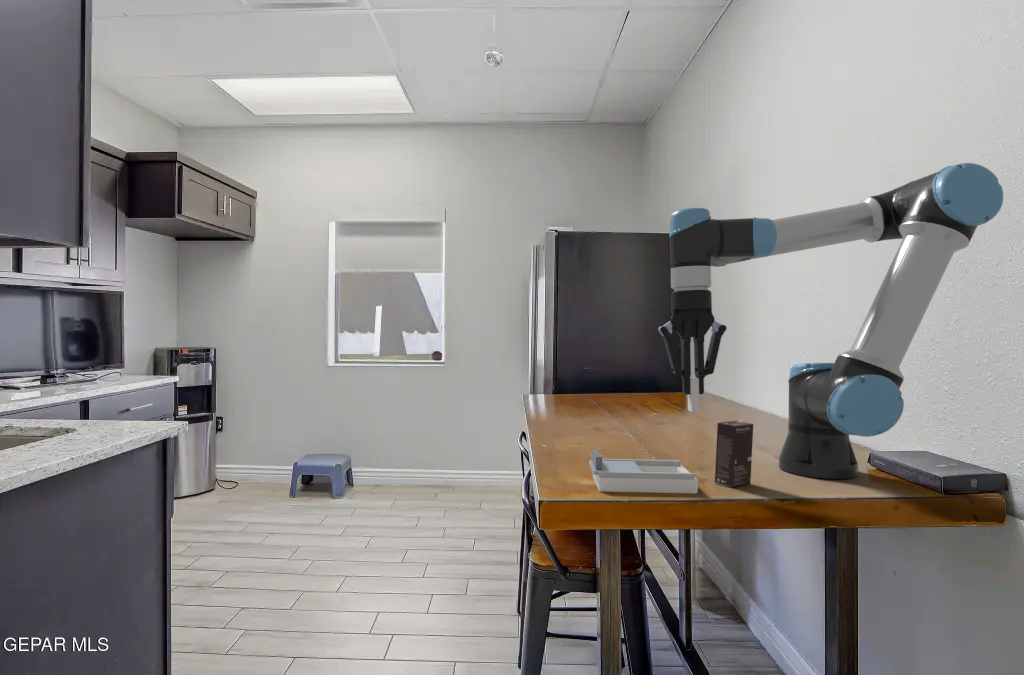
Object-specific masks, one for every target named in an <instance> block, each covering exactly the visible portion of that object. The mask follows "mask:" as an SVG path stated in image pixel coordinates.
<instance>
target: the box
mask: <svg viewBox="0 0 1024 675" xmlns="http://www.w3.org/2000/svg"><path fill="white" fill-rule="evenodd" d="M716 428H717V429H716V452H715V453H716V454H715V467H714V468H715V470H714V483H715V484H716V485H718V486H722V487H728V488H735V487H736V488H737V487H740V486H746V485H751V482H752V481H751V480H752V462H753V461H752V460H753V459H752V458H753V457H752V456H753V438H754V424H753V423H749V422H745V421H739V420H732V421H728V420H727V421H726V420H725V421H721V422H718V423H717V427H716Z"/></svg>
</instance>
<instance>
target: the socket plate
mask: <svg viewBox="0 0 1024 675" xmlns="http://www.w3.org/2000/svg"><path fill="white" fill-rule="evenodd" d="M602 460H603V461H634V462H635V463H636V465H637V466H638V467H639V469H640V470H641V471H642V472H620V471H599V475H594V474H593V473H592V477H593V480H594V482H595V485H596V487H597V489H598V492H605V493H606V492H612V493H613V492H614V493H617V492H618V493H655V494H656V493H658V494H659V493H660V494H661V493H663V494H698V492H699V491H698V490H699V489H698V488H699V480H698V479H697V477H695V475H696V474H695V473H694V472H690V471H689V470H688V469H686V467H685V466H684V465H682V464H681V460H680V459H676V460H675V459H638V458H637V459H635V458H633V459H632V458H602Z"/></svg>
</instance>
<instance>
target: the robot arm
mask: <svg viewBox="0 0 1024 675" xmlns="http://www.w3.org/2000/svg"><path fill="white" fill-rule="evenodd" d="M1003 203H1004V191H1003V186H1002V185H1001V184H1000V183H999V178H998V177H997V176H996V175H995V173H994V172H992V171H991V170H990V169H989V168H987V167H985V166H984V165H980V164H978V163H973V162H962V163H959V164H955V165H949V166H945V167H944V168H941V169H939V171H937V172H935V173H934V172H933V173H930V174H929V175H926V176H923V177H921V178H918V179H915V180H913V181H910V182H907V183H905V184H903V185H901V186H898V187H896V188H894V189H892V190H889V191H887V192H884V193H880V194H876V195H873V196H872V195H871V196H866V197H864V198H862V199H861V200H860V201H859V203H856V204H851V205H845V206H840V207H834V208H829V209H823V210H818V211H812V212H809V213H808V212H807V213H803V214H802V213H801V214H798V215H792V216H787V217H783V218H777V219H770V218H766V217H763V218H759V217H751V218H749V217H748V218H731V219H730V218H728V219H715V218H712V216H711V213H710V210H708V209H707V208H704V207H703V208H701V207H688V208H682V209H678V210H676V211H674V212H673V213H672V214H671V215H670V218H669V219H670V220H669V235H668V237H669V249H670V250H669V252H670V253H669V254H670V288H671V289H672V290H674V291H672V292H671V294H670V301H671V302H670V304H671V308H670V309H671V313H670V316H669V318H668V322H666V323H665V324H663V325H662V326H659V327H658V328H657V331H658V332H659V334H660V336H661V337H662V339H663V343H664V346H665V350H666V353H667V358H668V361H669V364H670V369H671V372H672V374H674V375H676V376H680V377H681V382H682V384H681V385H682V387H681V389H682V393H683V395H686V396H687V411H689V412H690V413H700V395H704V394H705V378H706V377H707V376H709V375H713V374H714V372H715V367H716V364H717V358H718V354H719V350H720V345H721V340H722V337H723V336H724V334H725V332H726V331H727V326H726V325H725V324H722V323H719V321H716V319H715V316H714V314H713V311H712V310H713V304H712V302H713V301H712V291H711V290H709V288H711V287H712V267H717V268H719V267H724V266H726V265H729V264H735V263H740V262H746V261H750V260H751V261H752V260H756V259H761V258H766V257H767V258H768V257H773V256H778V255H783V254H789V253H793V252H794V253H795V252H800V251H806V250H810V249H817V248H821V247H827V246H833V245H838V244H842V243H843V244H845V243H849V242H853V241H854V242H855V241H860V240H864V241H865V242H868V243H875V242H882V241H887V240H888V241H891V240H902V241H901V243H900V245H899V247H898V249H897V250H896V253H895V255H894V257H893V260H892V261H891V264H890V265H889V267H888V270H887V272H886V275H884V278H883V280H882V283H881V285H880V286H879V289H878V290H877V293H876V295H875V296H874V299H873V302H872V304H871V306H870V307H869V310H868V312H867V314H866V317H865V319H864V320H863V323H862V324H861V327H860V329H859V331H858V334H857V336H856V337H855V340H854V342H853V344H852V346H851V348H850V349H849V350H848V351H844V352H842V353H839V354H838V355H837V357H836V360H834V362H809V363H806V362H805V363H798V364H797V363H796V364H794V365H793V366H791V368H790V370H789V377H788V429H787V430H788V432H787V435H786V437H785V440H784V443H783V444H782V448H781V451H780V453H779V457H778V467H779V468H780V469H781V470H782V471H785V472H788V473H791V474H793V475H794V474H795V475H799V476H804V477H811V478H818V479H827V480H828V479H829V480H831V479H832V480H844V479H847V480H848V479H854V478H857V477H858V475H859V464H858V460H857V458H856V454H855V451H854V449H853V446H852V443H851V439H850V436H856V437H857V436H858V437H865V438H866V437H867V438H868V437H869V438H870V437H875V436H879V435H882V434H884V433H886V432H889V431H890V430H891V429H892V428H893V427H895V425H896V424H897V423H898V421H899V420H900V419H901V416H902V414H903V411H904V407H905V406H904V405H905V404H904V403H905V400H904V398H902V395H903V394H902V391H901V389H900V388H901V386H902V384H903V382H904V379H905V378H904V375H903V374H902V371H901V370H900V369H901V368H900V366H901V364H902V361H903V360H904V358H905V356H906V353H907V352H908V349H909V348H910V346H911V343H912V340H913V339H914V337H915V335H916V333H917V331H918V329H919V327H920V324H921V322H922V320H923V318H924V315H925V314H926V312H927V310H928V308H929V306H930V304H931V301H932V299H933V297H934V295H935V293H936V291H937V290H938V287H939V284H940V282H941V280H942V278H943V276H944V275H945V272H946V270H947V268H948V266H949V264H950V261H951V260H952V258H953V255H954V253H955V252H958V251H961V250H962V249H966V248H967V247H968V246H969V244H970V242H971V240H972V238H973V236H974V234H975V233H976V230H977V228H978V226H982V225H984V224H986V223H988V222H989V221H991V220H993V219H994V218H995V217H996V216H997V215H998V213H999V212H1000V211H1001V209H1002V206H1003ZM673 329H674V331H675V332H676V334H678V336H679V342H680V356H681V357H680V360H679V357H678V353H677V350H676V346H675V342H674V338H673V336H672V333H673ZM710 329H711V336H710V340H709V345H708V351H707V352H706V353H707V355H706V359H705V344H704V343H705V336H706V334H707V333H708V331H710ZM692 338H693V339H692ZM691 342H693V353H694V354H693V355H694V356H693V358H694V359H693V360H694V364H693V365H694V377H693V376H691V375H692V373H691V372H692V369H691V368H692V364H691V361H692V360H691V357H692V356H691V355H692V354H691ZM680 361H681V362H680ZM680 364H681V365H680Z"/></svg>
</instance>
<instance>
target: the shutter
mask: <svg viewBox="0 0 1024 675" xmlns="http://www.w3.org/2000/svg"><path fill="white" fill-rule="evenodd" d="M591 451H592V454H591V455H592V456H591V459H590V460H589V461H588V465H589V468H590V470H591V472H592V475H593V474H594V475H599V471H620V472H642V471H641V470H640V469H639V467H638V466H637V465H636V463H635V462H634V461H603V460H602V459H603V456H602V454H601V452H600V450H599V449H592V450H591Z"/></svg>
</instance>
